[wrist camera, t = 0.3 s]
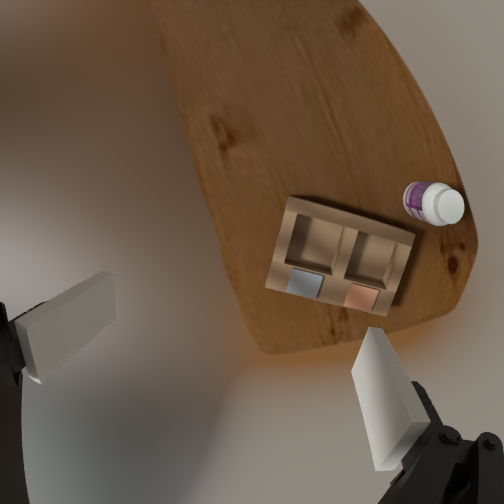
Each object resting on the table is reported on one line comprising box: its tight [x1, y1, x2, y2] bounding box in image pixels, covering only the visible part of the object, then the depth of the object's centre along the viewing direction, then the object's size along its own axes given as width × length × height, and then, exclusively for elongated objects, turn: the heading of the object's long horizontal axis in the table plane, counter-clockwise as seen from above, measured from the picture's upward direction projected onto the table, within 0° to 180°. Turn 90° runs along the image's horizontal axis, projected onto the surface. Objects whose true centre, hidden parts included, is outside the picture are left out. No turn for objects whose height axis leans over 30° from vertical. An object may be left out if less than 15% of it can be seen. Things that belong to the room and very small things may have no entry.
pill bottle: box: [403, 181, 464, 226], centre depth 31 cm, size 5×5×10 cm
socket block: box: [265, 195, 416, 316], centre depth 37 cm, size 12×18×4 cm
